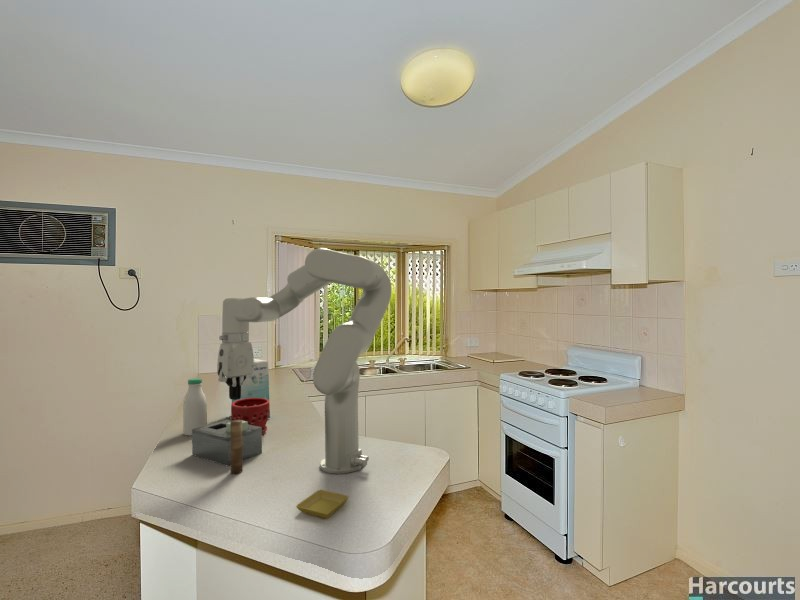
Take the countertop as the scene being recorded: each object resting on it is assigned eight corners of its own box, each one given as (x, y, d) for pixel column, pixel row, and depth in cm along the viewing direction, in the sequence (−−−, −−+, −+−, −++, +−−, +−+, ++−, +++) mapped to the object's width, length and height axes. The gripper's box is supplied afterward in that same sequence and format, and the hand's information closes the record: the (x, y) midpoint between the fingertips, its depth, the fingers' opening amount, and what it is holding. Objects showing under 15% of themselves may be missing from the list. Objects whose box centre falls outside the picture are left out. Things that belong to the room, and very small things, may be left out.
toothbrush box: (230, 415, 169) (230, 359, 170) (254, 411, 176) (253, 357, 177) (245, 424, 156) (244, 363, 156) (270, 419, 163) (269, 360, 163)
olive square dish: (327, 524, 83) (326, 514, 83) (295, 515, 86) (295, 505, 86) (349, 505, 90) (349, 496, 90) (319, 497, 94) (319, 489, 94)
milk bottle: (205, 434, 143) (205, 379, 144) (181, 437, 140) (181, 381, 141) (207, 428, 150) (207, 376, 151) (184, 431, 148) (184, 378, 148)
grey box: (261, 452, 124) (261, 427, 124) (227, 466, 114) (227, 438, 114) (226, 443, 133) (226, 419, 133) (192, 454, 123) (192, 429, 123)
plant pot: (223, 439, 138) (222, 404, 138) (246, 428, 151) (246, 396, 151) (255, 441, 135) (255, 406, 135) (276, 429, 147) (276, 398, 148)
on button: (247, 437, 122) (247, 421, 122) (235, 442, 118) (235, 425, 118) (238, 435, 124) (238, 419, 124) (226, 439, 120) (226, 423, 120)
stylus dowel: (244, 471, 110) (244, 420, 110) (235, 475, 107) (234, 423, 108) (237, 468, 111) (237, 419, 112) (228, 472, 109) (228, 422, 109)
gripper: (221, 340, 111) (220, 405, 111) (263, 337, 124) (263, 395, 124) (205, 339, 115) (204, 402, 114) (247, 336, 128) (247, 392, 127)
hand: (235, 398), depth 119 cm, fingers closed
